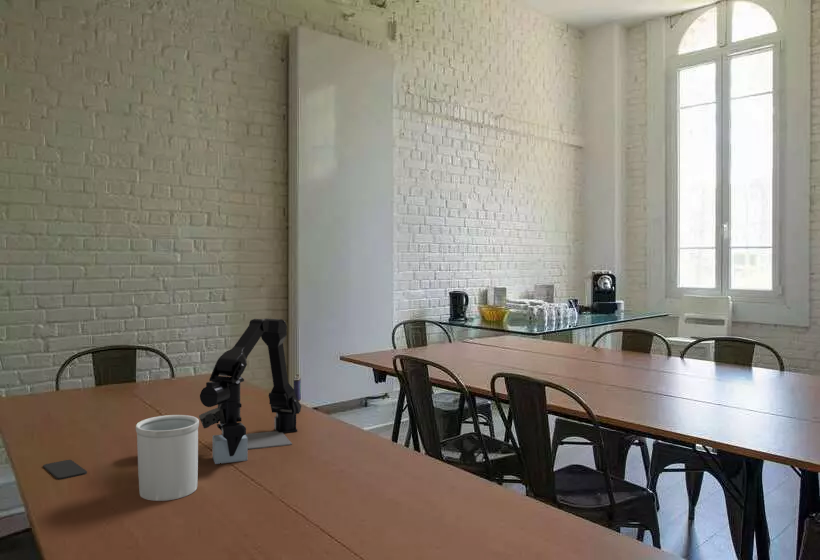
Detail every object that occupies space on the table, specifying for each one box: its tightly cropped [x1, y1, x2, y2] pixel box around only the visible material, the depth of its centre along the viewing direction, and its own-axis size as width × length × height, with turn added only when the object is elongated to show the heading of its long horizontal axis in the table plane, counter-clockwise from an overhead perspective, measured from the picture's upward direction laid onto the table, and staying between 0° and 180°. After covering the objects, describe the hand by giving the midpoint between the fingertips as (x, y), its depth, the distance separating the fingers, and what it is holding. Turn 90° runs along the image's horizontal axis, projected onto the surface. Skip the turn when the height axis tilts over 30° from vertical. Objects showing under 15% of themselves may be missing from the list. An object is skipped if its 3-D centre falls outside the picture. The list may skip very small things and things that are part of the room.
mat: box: [246, 430, 293, 451], centre depth 204 cm, size 16×16×1 cm
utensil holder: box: [135, 414, 200, 502], centre depth 159 cm, size 15×15×18 cm
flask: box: [293, 373, 302, 402], centre depth 263 cm, size 9×3×11 cm, turn 8°
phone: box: [42, 459, 88, 481], centre depth 174 cm, size 7×1×15 cm
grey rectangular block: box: [212, 434, 249, 465], centre depth 185 cm, size 9×6×6 cm
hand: (229, 452), depth 185 cm, fingers closed on grey rectangular block, 6 cm apart
